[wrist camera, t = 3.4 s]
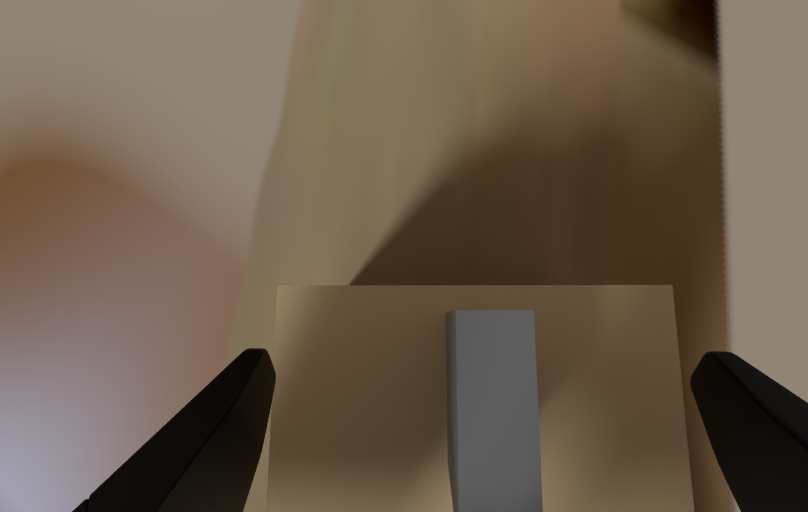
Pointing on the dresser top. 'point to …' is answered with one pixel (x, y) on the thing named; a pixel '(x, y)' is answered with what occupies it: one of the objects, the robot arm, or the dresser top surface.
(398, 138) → the dresser top surface
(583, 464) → the carton lid
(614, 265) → the dresser top surface
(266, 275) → the dresser top surface
